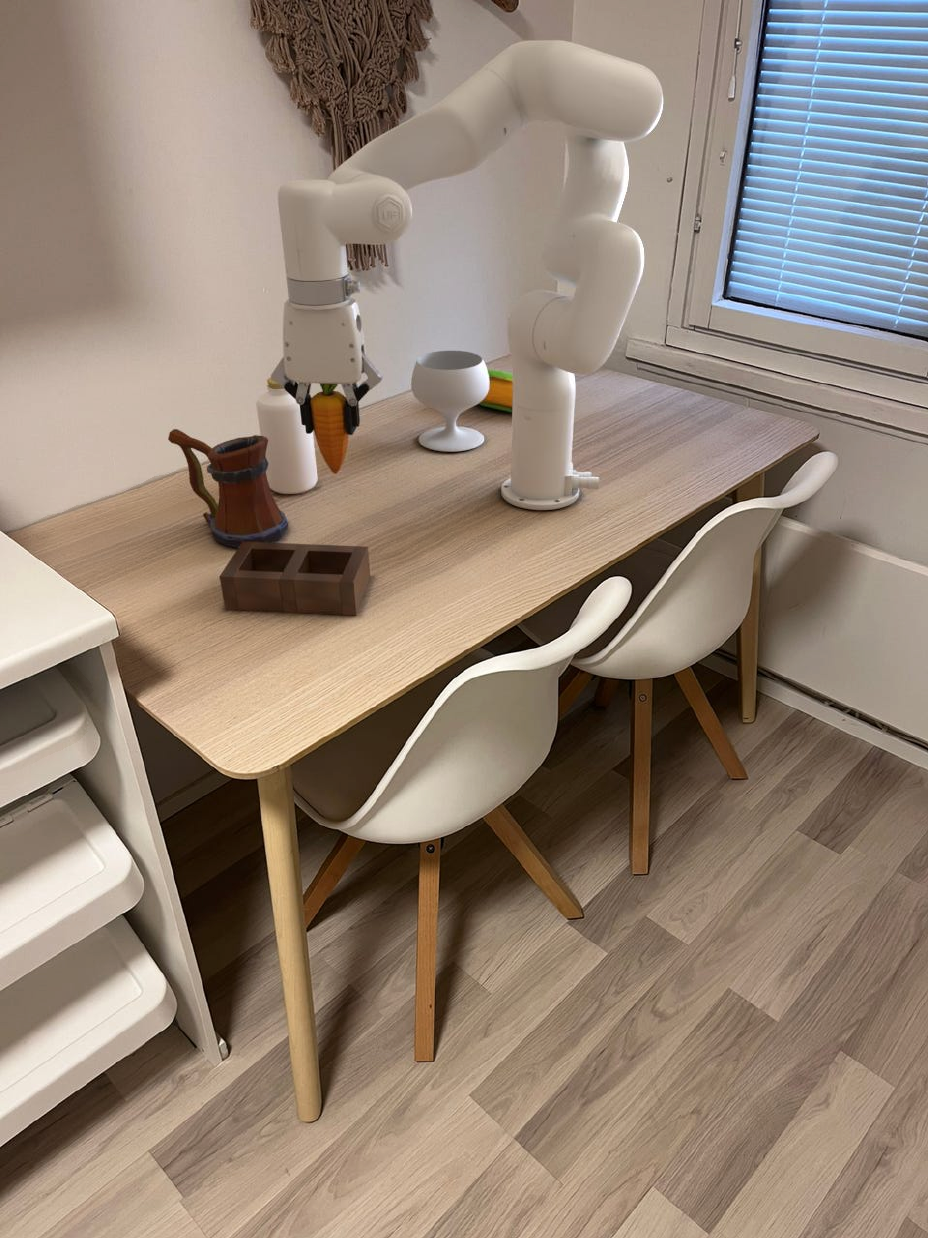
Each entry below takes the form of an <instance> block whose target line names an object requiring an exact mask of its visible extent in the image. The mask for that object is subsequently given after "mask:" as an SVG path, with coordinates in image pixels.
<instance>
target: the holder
mask: <svg viewBox="0 0 928 1238" xmlns="http://www.w3.org/2000/svg"><path fill="white" fill-rule="evenodd" d="M370 566H371V565H370V554H369V546H363V545H362V546H361V545H338V544H335V545H334V544H314V543H312V544H310V543H309V544H308V543H291V542H290V543H288V542H273V543H267V542H242V543H241V545H240V546H239V548H236V550H235V552H234V554H233V555H232V556H231V558H230V560H229V561H228V563H227V564H226V566H225V567H224V569H223V570H222V572H221V573H220V575H219V582H220V588H221V592H222V593H221V594H222V600H223V605H224V609H225V610H226V611H247V612H248V611H250V612H251V611H252V612H268V613H269V612H270V613H291V614H292V613H293V614H312V615H314V614H315V615H336V616H353V617H354V616H357V615H358V613H359V610H360V607H361V605H362V601H363V600H364V596H365V595H366V594H365V593H366V591H367V588H368V586H369V583H370V580H371V569H370V568H371V567H370Z"/></svg>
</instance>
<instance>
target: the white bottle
mask: <svg viewBox="0 0 928 1238" xmlns="http://www.w3.org/2000/svg"><path fill="white" fill-rule="evenodd" d="M266 382H267V385H266V389H267V391H266V392H265V393H263V394H262V395H260V396H259V398H257V400H256V411H257V418H258V425H259V433H260V434H259V435H260V436H264V437H267V439H268V444H267V449H266V459H267V461H268V463H269V464H268V468H267V470H266V476H267V480H268V484H269V488H270V490H271V491H273V492H275V493H278V494H283V495H295V494H296V495H297V494H301V493H305V492H308V491H310V490H312V489H313V488H314V487H315V486H316V485H317V482H318V480H319V477H318V476H319V475H318V468H317V458H316V448H315V439H314V431H313V432H312V433H311V434H306V429H305V425H302V423H301V414H300V405H299V404H297V403H296V399H294V398H293V397H292V396H291V395H290V394H289V393H288V392H287V391H286V390H285V388H284V387H281V386H280V385H279V384H277V383H276V382H275V381H273V380H272V379H271V377H269V378H268V379H267V380H266Z"/></svg>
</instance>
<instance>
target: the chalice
mask: <svg viewBox="0 0 928 1238" xmlns="http://www.w3.org/2000/svg"><path fill="white" fill-rule="evenodd" d="M418 357H419V358H417V359H416V362H415V364H414V367H413V370H412V372H411V373H412V374H411V380H410V388H411V391H412V394H413V396H414V398H415V399H416V400H417V401H418V402H419V403H421V404H422V405H424V406H425V407H427V408H430V409H432V410H434V411H436V412H438V413H439V414H441V415H442V416H443V418H444V420H445V426H439V427H435V428H431V429H428V430H426V431H424V432H423V433H422V434H421V435H420V436H418V443H419V444H420V445H421V446H423V447H424V448H426V449H428V450H432V451H433V450H434V451H438V452H463V451H467V450H472V449H474V448H478V447H479V446H481V445H482V444H483V443H484V442H485V436H484V435H483V434H482V433H481V432H480V431H478V430H476V429H473V428H470V427H466V426H458V425H457V420H458V418H459V416H460V415H461V414H462V413H464V412H466V411H467V410H469V409H471V408H473V407H475V406H477V405H479V404H478V403H480V402H481V401H482V400H483V399H484V398H485V397H486V395H487V394H488V391H489V382H490V381H489V374H488V370H487V369H488V368H487V365H486V363H485V360H484V359H483V358H482V356H481V355H479V354H477V353H474V352H470V351H464V350H439V351H432V352H429V353H425V354H423V355H421V356H418Z"/></svg>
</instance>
